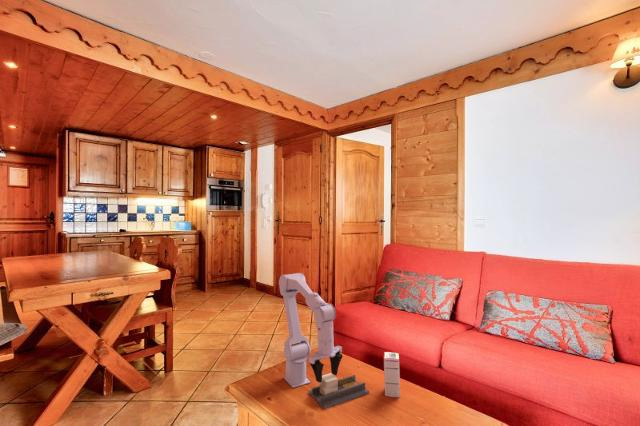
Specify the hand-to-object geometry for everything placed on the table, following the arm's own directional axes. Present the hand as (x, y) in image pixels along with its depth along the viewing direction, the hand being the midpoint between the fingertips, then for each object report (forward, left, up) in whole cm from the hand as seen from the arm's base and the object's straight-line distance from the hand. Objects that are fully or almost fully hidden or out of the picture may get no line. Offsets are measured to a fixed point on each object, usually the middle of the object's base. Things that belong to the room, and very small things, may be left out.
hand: (326, 377), depth 113 cm
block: (-5, +4, -9) cm, 11 cm away
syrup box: (+5, +26, -10) cm, 29 cm away
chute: (-5, +8, -10) cm, 14 cm away
